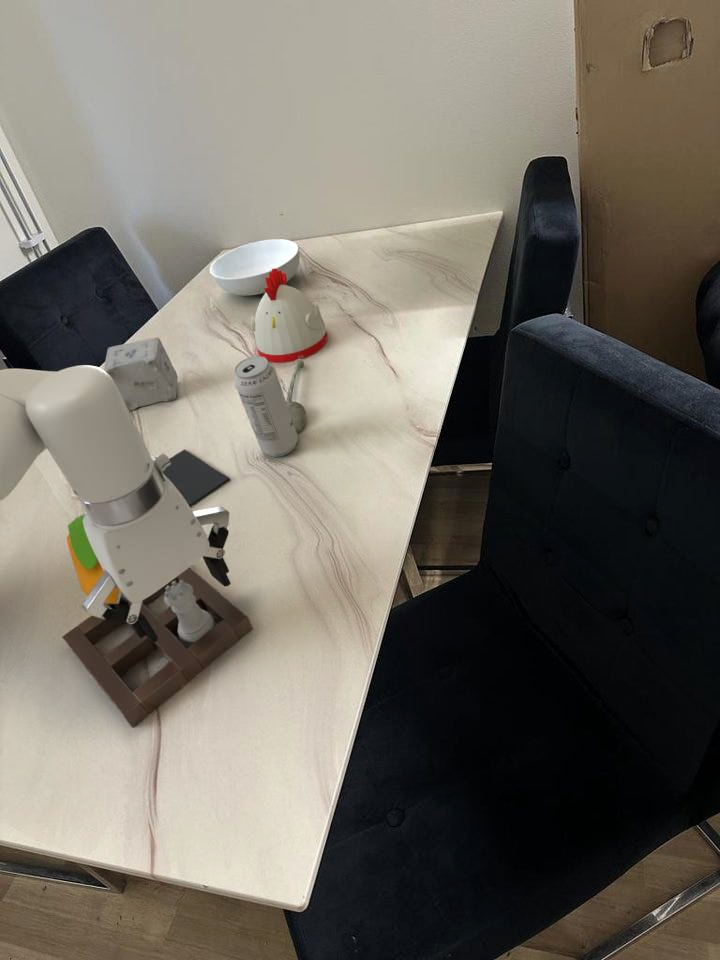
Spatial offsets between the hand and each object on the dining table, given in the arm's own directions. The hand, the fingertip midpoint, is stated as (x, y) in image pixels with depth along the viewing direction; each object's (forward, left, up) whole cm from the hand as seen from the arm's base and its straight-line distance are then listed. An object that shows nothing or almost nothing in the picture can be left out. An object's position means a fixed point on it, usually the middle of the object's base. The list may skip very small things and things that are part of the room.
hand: (186, 606), depth 74 cm
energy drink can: (+29, +21, -5) cm, 36 cm away
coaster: (+12, +28, -5) cm, 31 cm away
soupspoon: (+38, +30, -5) cm, 49 cm away
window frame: (-4, +4, -5) cm, 7 cm away
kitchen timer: (+51, +46, -5) cm, 69 cm away
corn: (-3, +17, -5) cm, 18 cm away
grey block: (+24, +55, -5) cm, 60 cm away
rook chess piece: (0, 0, -5) cm, 5 cm away
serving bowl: (+66, +76, -5) cm, 101 cm away
